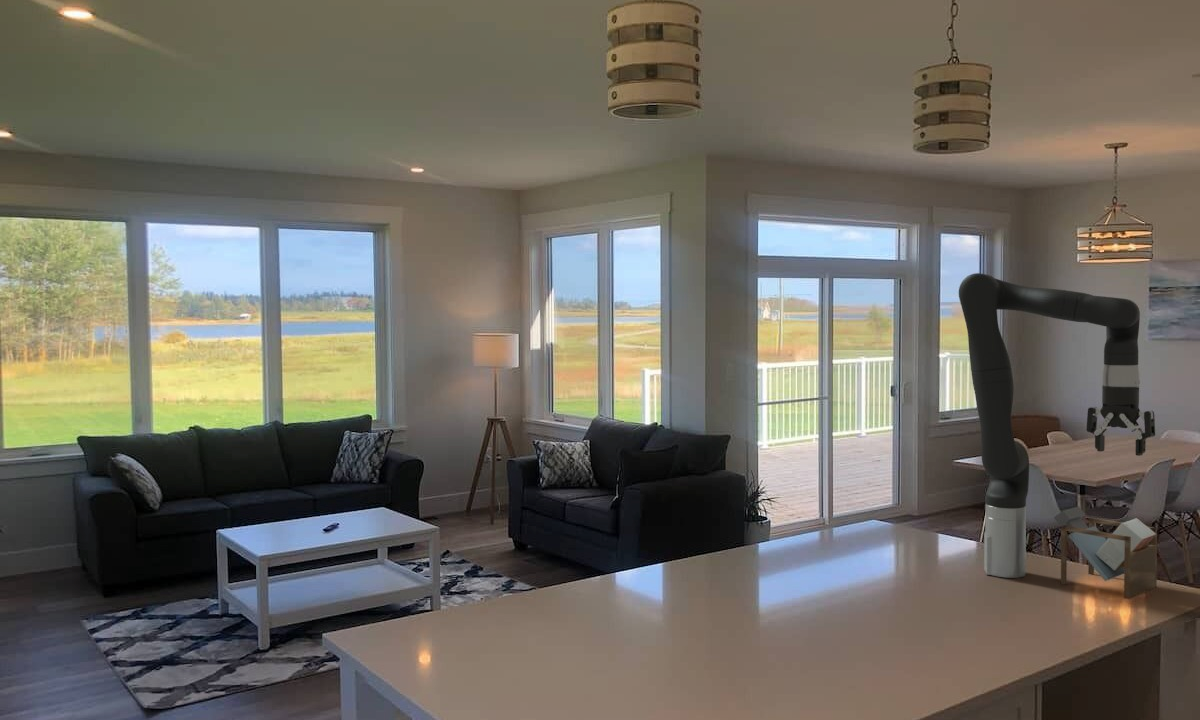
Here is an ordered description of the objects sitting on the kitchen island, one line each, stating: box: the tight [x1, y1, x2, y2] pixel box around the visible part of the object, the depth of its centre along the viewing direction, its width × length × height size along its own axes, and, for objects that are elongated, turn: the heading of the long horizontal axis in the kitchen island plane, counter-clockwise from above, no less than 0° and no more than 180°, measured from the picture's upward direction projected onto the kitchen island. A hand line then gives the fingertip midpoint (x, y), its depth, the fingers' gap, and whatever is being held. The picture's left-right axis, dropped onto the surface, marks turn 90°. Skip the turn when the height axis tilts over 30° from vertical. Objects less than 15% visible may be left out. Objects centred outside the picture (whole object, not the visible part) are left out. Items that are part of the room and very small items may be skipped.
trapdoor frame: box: [1060, 517, 1158, 599], centre depth 218 cm, size 15×15×14 cm
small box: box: [1095, 517, 1156, 570], centre depth 215 cm, size 8×6×10 cm
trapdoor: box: [1053, 506, 1124, 582], centre depth 221 cm, size 18×12×3 cm
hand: (1119, 453), depth 215 cm, fingers open, 8 cm apart
